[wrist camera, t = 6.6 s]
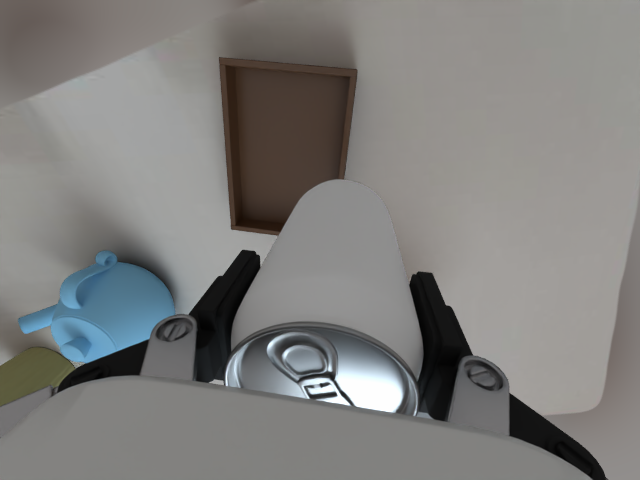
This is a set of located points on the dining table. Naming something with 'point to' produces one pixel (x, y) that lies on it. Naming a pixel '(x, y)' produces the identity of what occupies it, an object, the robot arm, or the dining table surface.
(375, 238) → the can
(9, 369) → the potted cactus
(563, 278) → the dining table surface
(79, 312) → the teapot
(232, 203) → the tray
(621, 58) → the dining table surface
